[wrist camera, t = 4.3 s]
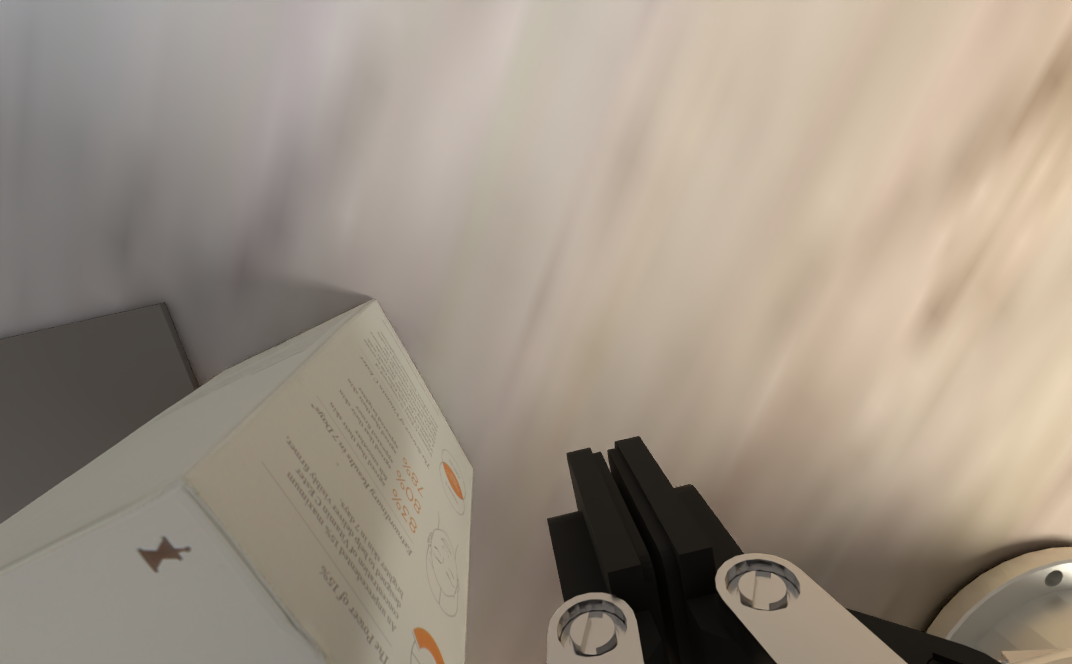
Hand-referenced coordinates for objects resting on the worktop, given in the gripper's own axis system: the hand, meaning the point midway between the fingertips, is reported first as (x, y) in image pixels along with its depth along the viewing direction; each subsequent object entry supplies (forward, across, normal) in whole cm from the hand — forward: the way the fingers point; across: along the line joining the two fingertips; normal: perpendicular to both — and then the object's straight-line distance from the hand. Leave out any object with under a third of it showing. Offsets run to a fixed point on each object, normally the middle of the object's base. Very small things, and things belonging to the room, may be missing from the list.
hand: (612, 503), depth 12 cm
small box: (+10, +8, 0) cm, 12 cm away
